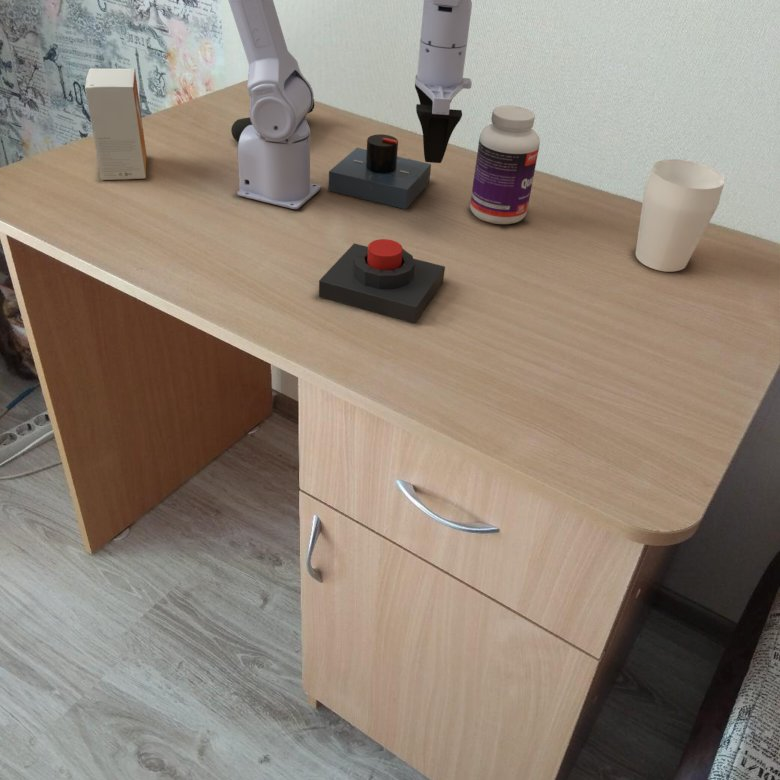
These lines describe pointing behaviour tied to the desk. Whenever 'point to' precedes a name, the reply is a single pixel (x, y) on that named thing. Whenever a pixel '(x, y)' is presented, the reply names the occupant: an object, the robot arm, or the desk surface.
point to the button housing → (382, 284)
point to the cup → (676, 212)
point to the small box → (116, 123)
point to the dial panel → (379, 180)
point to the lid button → (384, 254)
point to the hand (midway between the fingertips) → (432, 149)
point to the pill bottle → (505, 166)
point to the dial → (381, 153)
